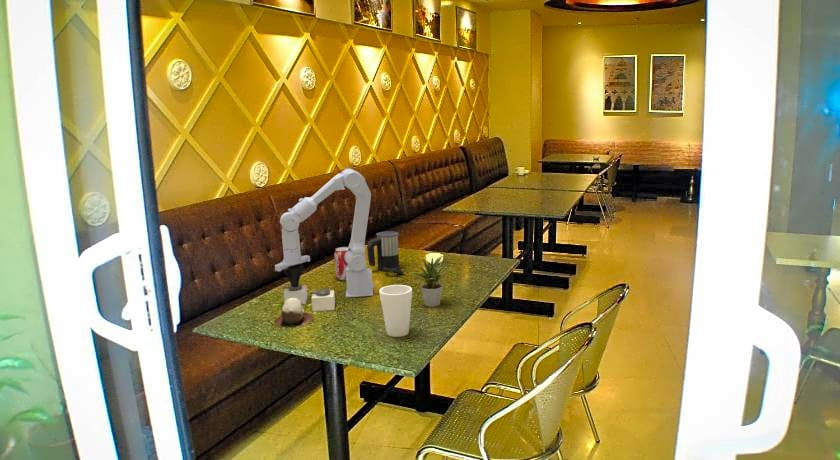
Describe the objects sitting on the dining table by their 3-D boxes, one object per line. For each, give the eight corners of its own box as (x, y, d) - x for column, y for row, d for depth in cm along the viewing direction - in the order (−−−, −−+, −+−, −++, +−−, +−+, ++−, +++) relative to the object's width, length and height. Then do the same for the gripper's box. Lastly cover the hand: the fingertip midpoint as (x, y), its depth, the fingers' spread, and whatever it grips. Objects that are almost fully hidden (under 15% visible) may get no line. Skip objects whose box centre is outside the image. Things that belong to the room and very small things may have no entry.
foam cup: (381, 327, 169) (379, 285, 167) (412, 325, 170) (410, 283, 168) (382, 340, 160) (379, 296, 158) (414, 337, 161) (412, 293, 158)
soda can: (350, 281, 217) (348, 251, 215) (333, 281, 219) (331, 250, 216) (356, 276, 224) (354, 246, 221) (339, 275, 225) (337, 246, 223)
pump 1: (303, 296, 199) (302, 283, 198) (302, 300, 194) (301, 287, 193) (284, 297, 198) (283, 284, 197) (282, 301, 194) (281, 288, 193)
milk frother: (387, 264, 240) (385, 230, 236) (417, 269, 230) (416, 233, 227) (365, 272, 228) (362, 236, 225) (395, 278, 219) (393, 240, 216)
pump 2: (331, 301, 192) (330, 288, 191) (330, 306, 187) (329, 292, 186) (311, 302, 191) (310, 290, 190) (310, 307, 187) (309, 294, 186)
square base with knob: (307, 297, 200) (306, 285, 199) (305, 304, 193) (304, 291, 192) (287, 298, 199) (286, 286, 199) (284, 305, 193) (283, 292, 192)
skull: (275, 312, 184) (294, 288, 182) (300, 331, 185) (320, 308, 184) (266, 324, 172) (287, 299, 171) (293, 345, 173) (314, 320, 172)
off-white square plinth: (335, 302, 193) (334, 290, 192) (334, 309, 186) (333, 296, 185) (314, 304, 193) (313, 291, 192) (312, 311, 186) (311, 298, 185)
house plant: (422, 293, 199) (421, 248, 196) (459, 298, 193) (458, 251, 190) (404, 307, 187) (401, 258, 183) (442, 312, 180) (441, 262, 177)
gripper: (298, 242, 201) (301, 279, 203) (267, 251, 189) (270, 290, 192) (313, 244, 197) (316, 281, 199) (281, 253, 185) (285, 293, 188)
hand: (294, 286), depth 195 cm, fingers closed, pressing on pump 1
